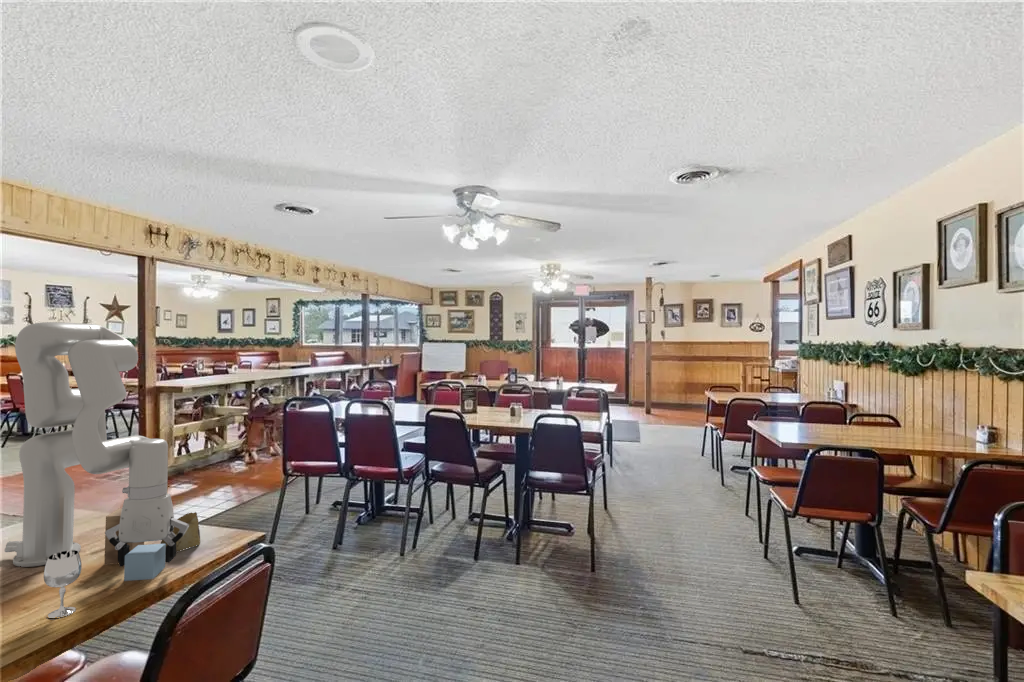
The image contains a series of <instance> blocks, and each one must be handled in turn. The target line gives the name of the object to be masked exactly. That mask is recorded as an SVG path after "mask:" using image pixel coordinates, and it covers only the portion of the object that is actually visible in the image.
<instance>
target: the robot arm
mask: <svg viewBox="0 0 1024 682" xmlns="http://www.w3.org/2000/svg"><path fill="white" fill-rule="evenodd" d="M14 351H15V356H16V360H17V362H18V365H19V368H20V370H21V373H22V380H23V382H22V383H23V395H24V411H25V418H26V422H27V423H28V425H30V426H31V427H33V428H37V429H48V428H57V427H62V426H63V427H65V426H71V425H73V427H72V429H68V430H60V431H52V432H46V433H42V434H38V435H35V436H33V437H29V439H27V440H26V441H24V443H22V445H21V446H20V448H19V453H18V455H19V456H18V457H19V461H20V466H21V471H22V477H23V478H22V479H23V512H22V513H23V514H22V515H23V516H22V540H21V541H20V540H10V541H8V542H7V543H6V545H5V548H4V552H5V553H12V552H15V553H16V555H15V556H14V557H13V558H12V564H13V565H14V566H16V567H20V566H21V567H23V568H28V567H29V568H30V567H31V568H32V567H40V566H45V565H46V563H47V560H48V557H49V556H51V555H53V554H55V553H58V552H62V551H68V550H76V551H78V552H79V553H80V551H81V549H82V548H81V544H79V543H78V542H75V541H74V523H75V521H74V520H75V493H76V492H75V482H74V480H73V478H72V476H70V474H68V473H67V471H66V469H68V468H70V467H75V466H78V465H79V466H81V468H82V469H83V470H84V471H85V472H87V473H89V474H91V475H102V474H107V473H112V472H115V471H119V470H124V469H128V485H127V487H123V488H122V494H127V498H125V499H124V500H123V504H122V507H121V508H122V511H121V517H120V524H118V525H116V526H114V527H112V528H110V529H108V530H107V531H104V534H105V535H106V536H107V538H108V539H109V542H110V543H111V544H112V545H113V546H115V549H116V550H118V562H119V564H118V566H119V568H120V567H124V566H125V555H126V554H128V553H129V552H130V546H129V545H127V543H133V542H144V543H145V542H159V541H162V539H163V540H164V541H165V542H166V543H167V544H168V546H166V555H165V564H166V563H167V564H170V563H171V562H172V561H173V559H175V557H176V556H177V552H176V542H177V541H178V540H179V539H180V538H181V537H182V536H184V534H185V532H186V531H187V529H188V527H189V524H187V523H185V522H182V521H180V520H177V519H178V518H175V514H174V512H175V511H174V505H173V502H172V496H171V494H170V493H168V471H169V470H168V469H169V467H168V465H169V456H168V455H169V444H168V442H167V440H166V439H162V438H149V437H147V436H143V435H129V436H123V437H117V438H111V439H107V422H106V410H107V409H109V408H111V407H114V406H115V405H117V404H119V403H120V402H122V401H124V400H125V399H126V397H127V390H126V387H125V385H124V382H123V379H122V376H121V374H120V372H127V371H130V370H133V369H134V368H135V367H136V366H137V364H138V361H139V354H138V350H137V348H136V347H135V346H134V344H133V343H132V342H131V341H130V340H128V339H127V338H125V337H123V336H121V335H120V334H118V333H116V332H114V331H112V330H111V329H109V328H107V327H105V326H103V325H100V324H96V323H83V322H82V323H80V322H62V321H60V322H59V321H58V322H57V321H45V322H44V321H43V322H42V321H41V322H35V323H31V324H28V325H26V326H24V327H23V328H22V329H21V330H20V331H19V332H18V334H17V335H16V339H15V343H14ZM56 356H67V358H68V363H69V365H70V368H71V371H72V373H73V376H74V379H75V383H76V386H77V388H71V387H70V381H69V380H70V379H69V378H70V376H69V371H68V370H67V368H66V367H65V365H64V364H63V363H62V362H61V361H60V360H59V359H58V358H56ZM174 527H177V528H179V529H180V530H179V533H178V534H177V535H175V534H174V533H173V530H174ZM118 530H119V537H118V536H116V531H118ZM105 535H104V536H105Z"/></svg>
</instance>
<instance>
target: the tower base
mask: <svg viewBox="0 0 1024 682" xmlns="http://www.w3.org/2000/svg"><path fill="white" fill-rule="evenodd" d="M127 545H129V546H130V551H131V550H133V549H134V548H135V547H136V546H138V545H145V542H133V543H127ZM118 563H119V562H118V550H116V549H115V546H113V545H112V544H111V543H110V542H109V540H105V539H104V564H105V565H117V564H118ZM118 565H119V564H118Z"/></svg>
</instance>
